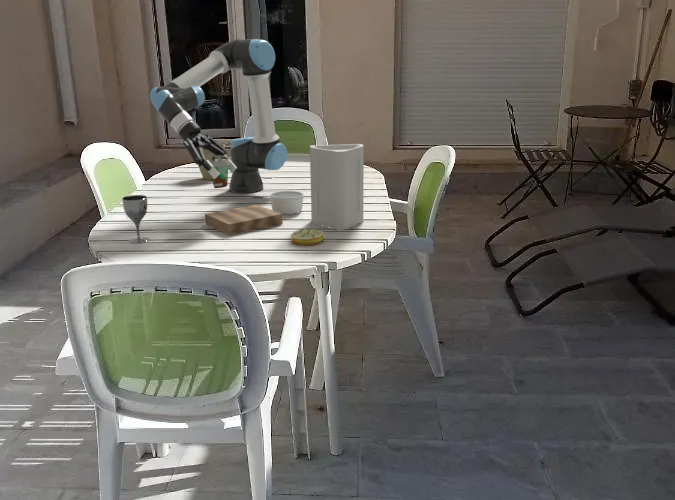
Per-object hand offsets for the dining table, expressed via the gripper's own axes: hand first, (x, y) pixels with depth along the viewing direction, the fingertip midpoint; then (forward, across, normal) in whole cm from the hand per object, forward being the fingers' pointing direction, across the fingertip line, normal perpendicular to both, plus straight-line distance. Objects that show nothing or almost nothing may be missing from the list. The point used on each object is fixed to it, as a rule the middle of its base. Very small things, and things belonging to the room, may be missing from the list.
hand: (226, 173), depth 241 cm
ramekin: (+21, -26, -6) cm, 34 cm away
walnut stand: (+17, -3, -10) cm, 20 cm away
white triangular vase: (+40, -15, +13) cm, 45 cm away
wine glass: (+1, +28, -27) cm, 39 cm away
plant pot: (-23, -69, -51) cm, 88 cm away
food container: (+2, -1, -6) cm, 6 cm away
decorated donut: (+39, +8, +11) cm, 41 cm away
